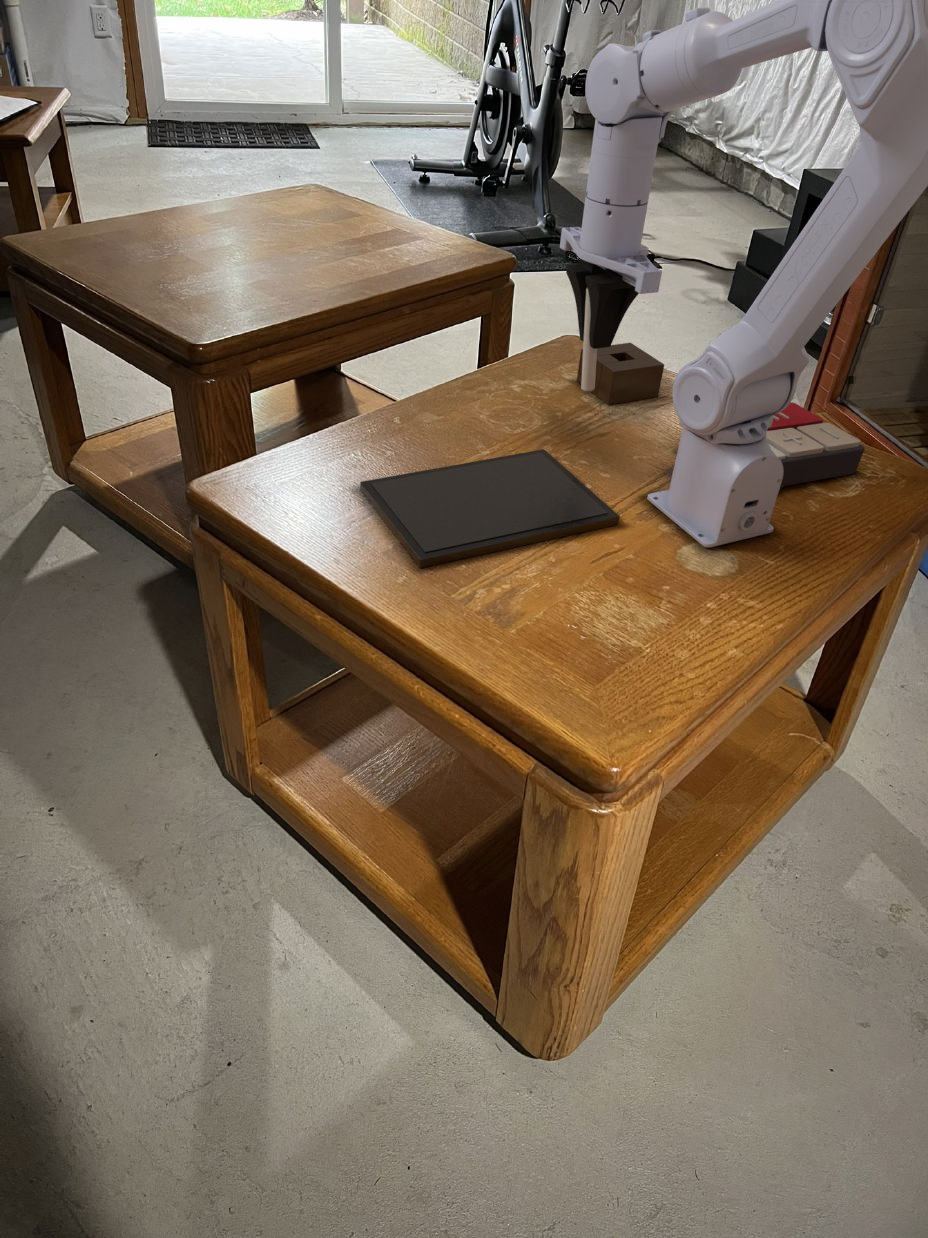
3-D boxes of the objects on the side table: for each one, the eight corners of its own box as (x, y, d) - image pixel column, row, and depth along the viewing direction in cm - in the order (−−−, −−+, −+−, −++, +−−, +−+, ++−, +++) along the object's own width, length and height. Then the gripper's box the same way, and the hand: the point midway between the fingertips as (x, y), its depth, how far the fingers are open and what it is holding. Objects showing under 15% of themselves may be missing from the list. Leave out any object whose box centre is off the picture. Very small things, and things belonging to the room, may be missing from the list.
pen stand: (658, 396, 109) (664, 364, 107) (608, 405, 107) (613, 371, 104) (624, 373, 114) (630, 342, 112) (576, 381, 112) (580, 348, 109)
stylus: (596, 394, 97) (603, 289, 90) (585, 397, 96) (591, 291, 89) (589, 389, 98) (596, 284, 90) (578, 392, 97) (583, 287, 90)
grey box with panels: (870, 440, 95) (760, 458, 88) (855, 478, 97) (747, 498, 91) (794, 397, 102) (687, 411, 96) (782, 433, 105) (677, 449, 98)
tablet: (618, 524, 86) (620, 515, 85) (419, 568, 78) (420, 558, 78) (543, 456, 96) (544, 447, 95) (359, 489, 88) (359, 480, 87)
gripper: (700, 216, 82) (670, 365, 90) (610, 177, 92) (591, 314, 100) (633, 221, 79) (608, 374, 87) (548, 180, 89) (533, 321, 97)
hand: (595, 343), depth 94 cm, fingers closed on stylus, 1 cm apart
